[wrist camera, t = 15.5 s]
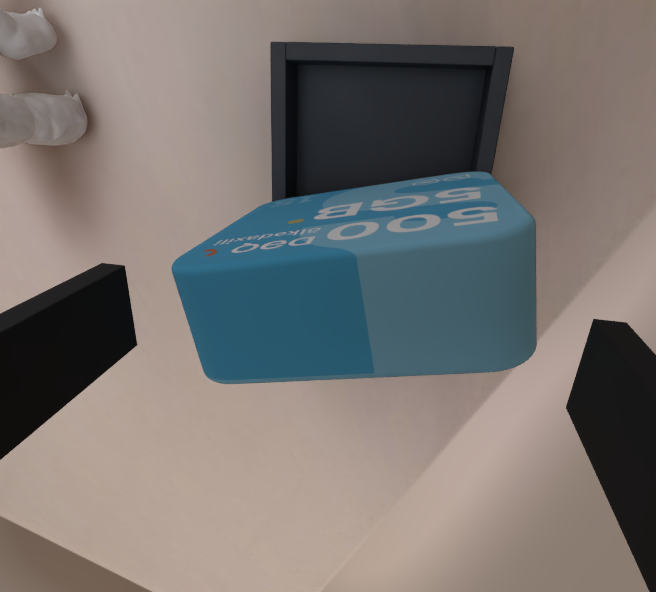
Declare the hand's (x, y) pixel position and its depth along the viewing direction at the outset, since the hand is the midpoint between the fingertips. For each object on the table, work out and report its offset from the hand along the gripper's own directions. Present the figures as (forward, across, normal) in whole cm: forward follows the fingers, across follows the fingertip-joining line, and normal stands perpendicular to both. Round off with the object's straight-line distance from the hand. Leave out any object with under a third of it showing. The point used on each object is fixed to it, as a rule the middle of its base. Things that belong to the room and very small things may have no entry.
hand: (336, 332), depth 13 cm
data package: (+13, 0, 0) cm, 13 cm away
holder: (+16, 0, 0) cm, 16 cm away
